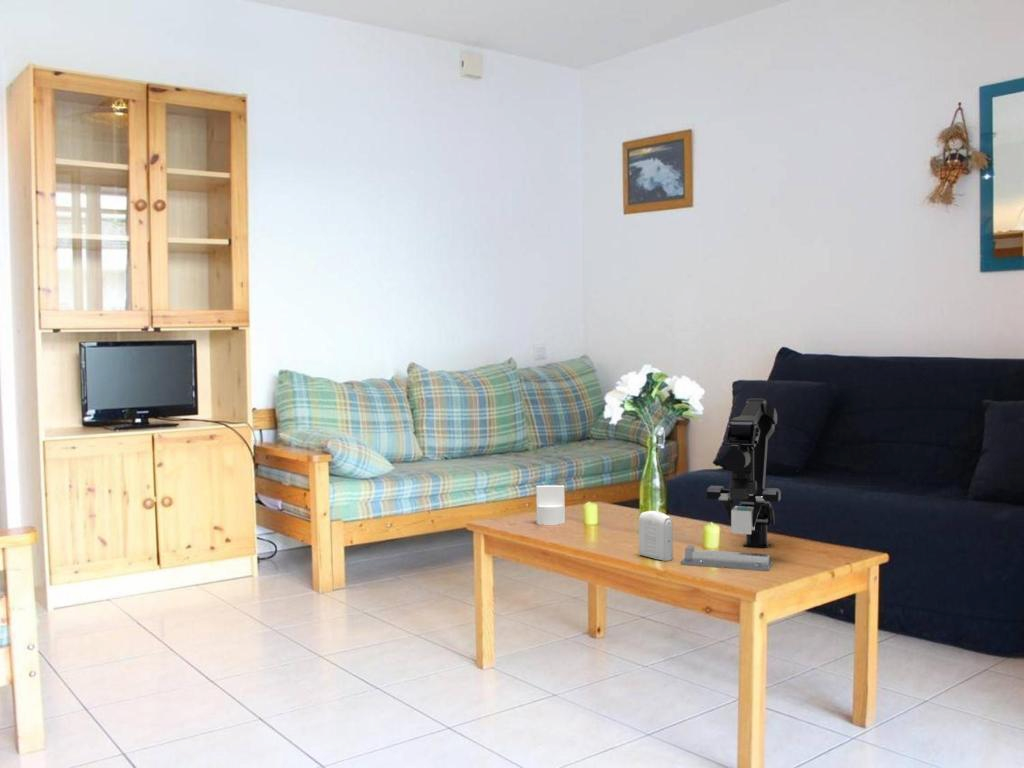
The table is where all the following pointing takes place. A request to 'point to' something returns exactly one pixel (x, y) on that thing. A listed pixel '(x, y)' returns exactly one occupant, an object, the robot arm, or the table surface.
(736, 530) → the module
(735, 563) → the rail panel
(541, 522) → the cylinder with rectangular tab
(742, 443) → the robot arm
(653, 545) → the photo printer
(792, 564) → the table surface
